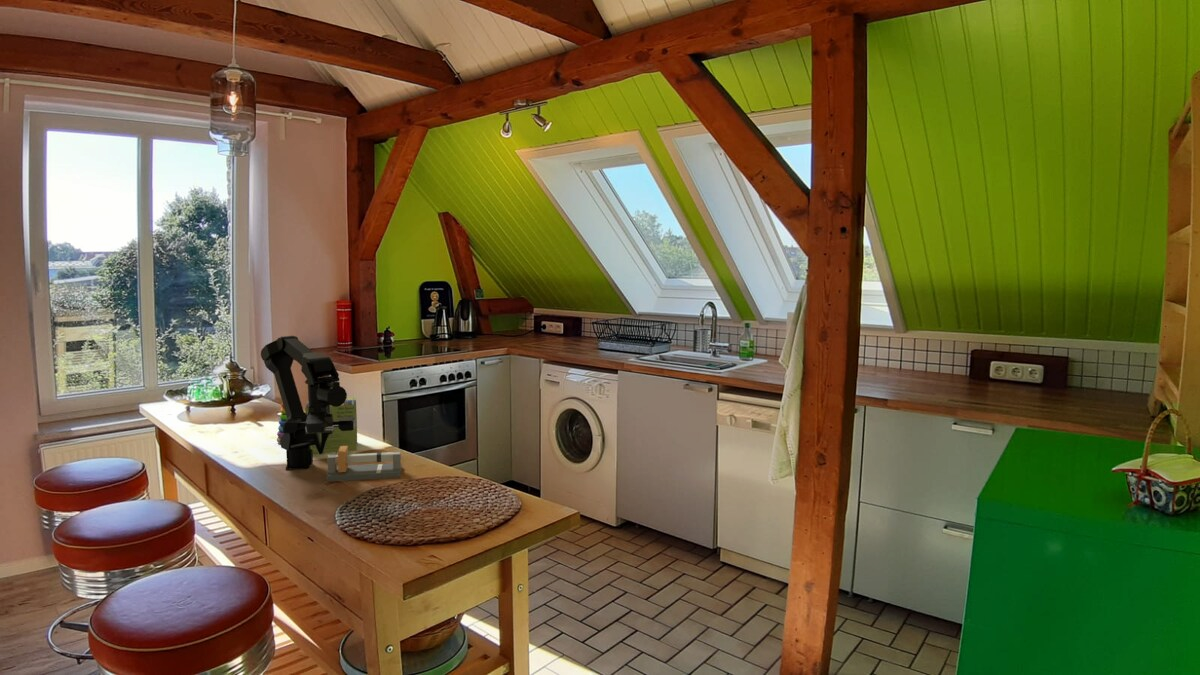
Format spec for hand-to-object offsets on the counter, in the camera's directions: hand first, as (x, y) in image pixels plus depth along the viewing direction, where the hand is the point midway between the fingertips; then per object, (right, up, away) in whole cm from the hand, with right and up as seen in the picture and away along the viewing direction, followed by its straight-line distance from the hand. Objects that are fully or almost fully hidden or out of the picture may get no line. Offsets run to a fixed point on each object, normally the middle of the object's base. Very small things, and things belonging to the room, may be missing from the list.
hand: (321, 453), depth 195 cm
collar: (+6, -5, +2) cm, 8 cm away
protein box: (-8, -3, +29) cm, 30 cm away
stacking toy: (-25, -2, +35) cm, 43 cm away
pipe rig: (+11, -7, +4) cm, 14 cm away
